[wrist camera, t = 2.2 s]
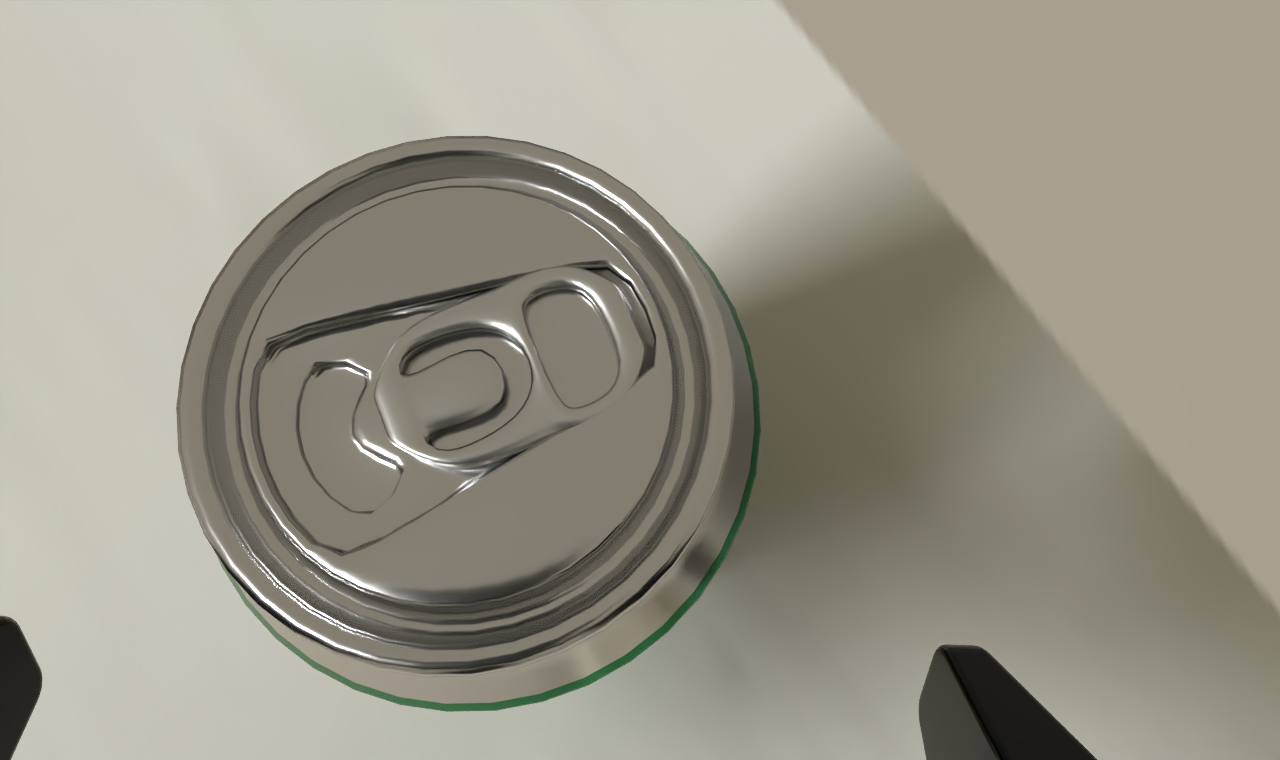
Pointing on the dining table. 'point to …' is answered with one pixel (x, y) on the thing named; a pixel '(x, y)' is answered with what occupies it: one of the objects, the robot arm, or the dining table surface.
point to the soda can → (468, 423)
